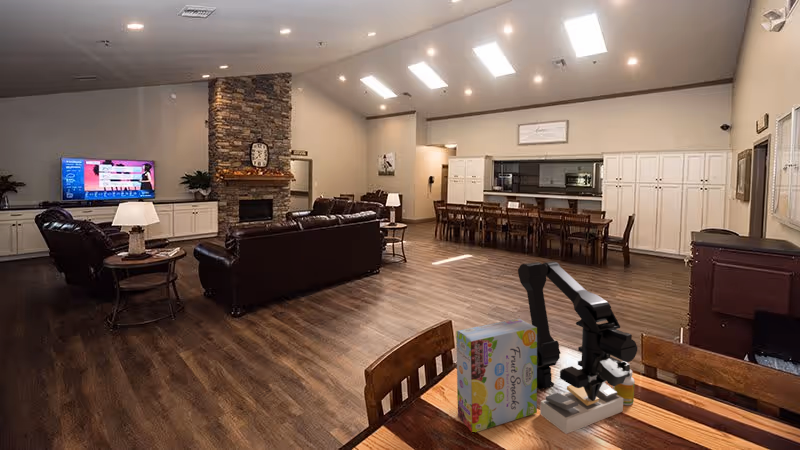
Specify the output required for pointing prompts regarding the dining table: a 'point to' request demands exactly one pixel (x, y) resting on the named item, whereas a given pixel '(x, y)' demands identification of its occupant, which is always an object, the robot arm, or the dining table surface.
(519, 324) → the snack box
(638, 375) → the dining table surface
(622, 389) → the supplement bottle
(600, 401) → the rocker switch box
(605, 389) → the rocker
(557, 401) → the block
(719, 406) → the dining table surface
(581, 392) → the rocker middle
